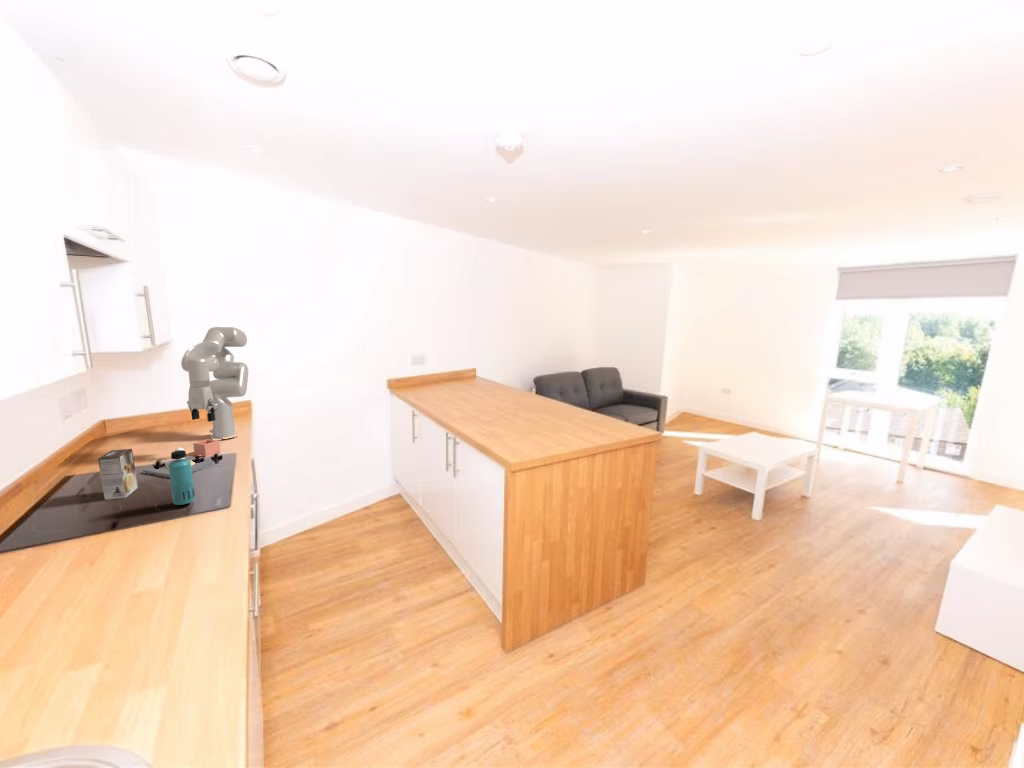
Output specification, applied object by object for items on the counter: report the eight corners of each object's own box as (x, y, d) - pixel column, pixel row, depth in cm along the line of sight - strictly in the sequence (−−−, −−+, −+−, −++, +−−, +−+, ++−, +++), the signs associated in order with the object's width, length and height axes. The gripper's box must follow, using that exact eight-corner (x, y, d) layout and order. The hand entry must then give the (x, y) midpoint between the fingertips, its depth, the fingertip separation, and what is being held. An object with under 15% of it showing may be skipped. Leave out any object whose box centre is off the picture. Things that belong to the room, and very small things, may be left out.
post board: (143, 473, 170) (140, 451, 169) (187, 458, 188) (185, 439, 186) (174, 478, 166) (172, 457, 164) (217, 463, 183) (215, 443, 181)
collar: (194, 455, 192) (193, 443, 191) (209, 450, 199) (207, 439, 198) (205, 457, 190) (204, 444, 189) (220, 452, 197) (218, 440, 196)
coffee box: (117, 490, 155) (111, 449, 152) (138, 487, 157) (132, 448, 154) (103, 500, 146) (97, 458, 144) (126, 497, 149) (120, 456, 146)
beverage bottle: (183, 510, 141) (176, 455, 138) (167, 507, 142) (160, 453, 139) (200, 501, 147) (195, 449, 144) (185, 499, 149) (179, 447, 145)
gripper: (177, 384, 187) (181, 420, 190) (206, 386, 183) (209, 423, 186) (194, 382, 195) (197, 416, 197) (222, 384, 190) (225, 419, 193)
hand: (203, 420), depth 191 cm, fingers open, 9 cm apart
